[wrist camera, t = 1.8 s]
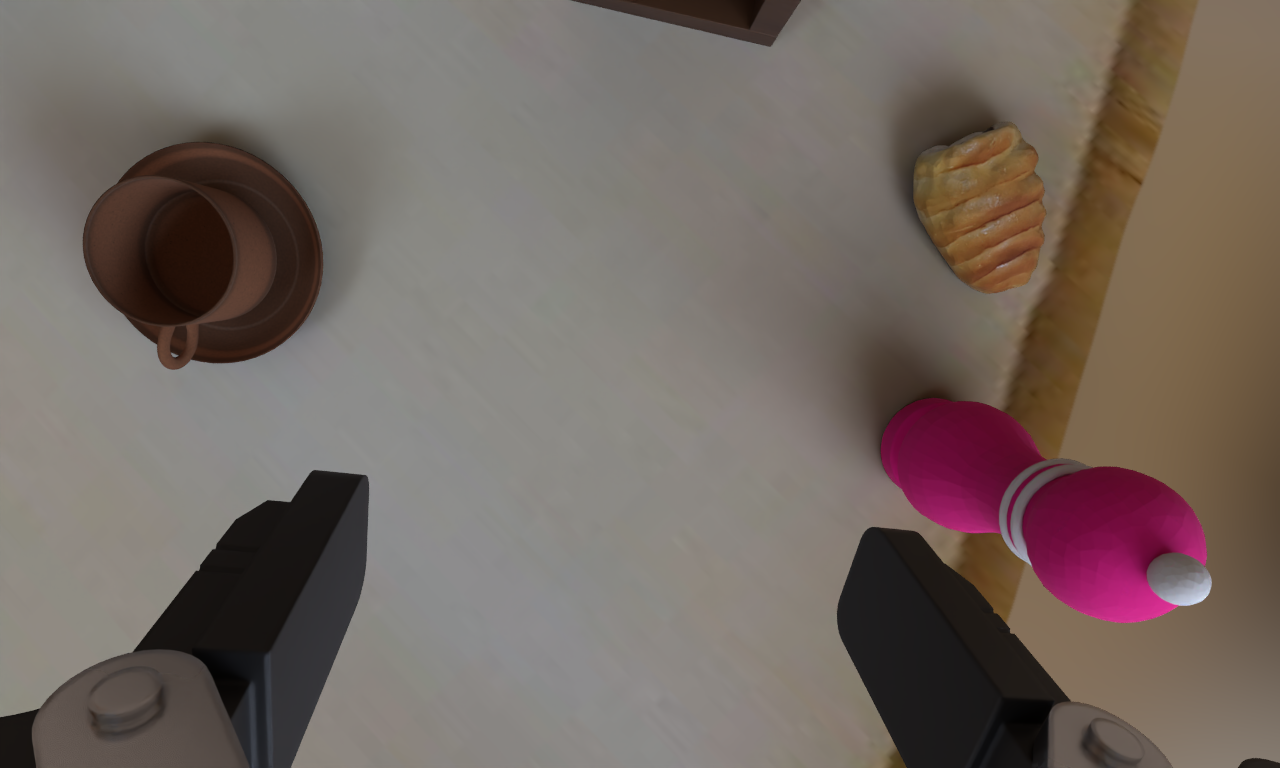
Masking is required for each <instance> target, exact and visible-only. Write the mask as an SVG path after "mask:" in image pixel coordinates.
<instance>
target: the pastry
mask: <svg viewBox="0 0 1280 768" xmlns="http://www.w3.org/2000/svg"><path fill="white" fill-rule="evenodd" d="M1037 162H1038V154H1037V152H1036V150H1035V149H1034V147H1032V146H1031V145H1029V144H1028V143H1026V142H1025V141H1024V140H1023V139H1022V137H1021V133H1020V131H1019V130H1018V128H1017V126H1016V125H1015V124H1014V123H1012V122H1002V123H999V124H995V125H993V126H992V127H990V128H989V129H987V130H986V131H984V132H976V133H973V134H970V135H968V136H966V137H964V138H963V139H960V140H958V141H956V142H955V143H953V144H952V145H950V146H945V145H938V146H934V147H932V148H930V149H928V150H925V151H924V152H923V153H922V154H921V155H920V156H919V157H918V158H917V160H916V164H915V169H914V188H913V200H914V204H915V207H916V210H917V213H918V217H919V219H920V221H921V222H922V224H923V225H924V227H925V229H926V231H927V233H928V234H929V236H930V237H931V239H932V241H933V243H934V245H935V246H936V247H937V249H938V250H939V252H940V253H941V255H942V256H943V257H944V259H945V260H946V262H947V263H948V265H949V266H950V267H951V269H952V270H953V272H954V273H955V274H956V276H957V277H958V278H959V279H960V280H961V281H963V282H964V283H966V284H967V285H969V286H970V287H971V288H973V289H975V290H977V291H979V292H982V293H986V294H991V293H997V292H1003V291H1005V290H1008V289H1011V288H1017V287H1020V286H1023V285H1025V284H1026V283H1028V281H1029V279H1030V277H1031V274H1032V272H1033V271H1034V270H1035V269H1036V267H1037V262H1038V256H1039V251H1040V247H1041V246H1042V244H1043V242H1044V233H1043V231H1042V227H1041V226H1042V222H1043V220H1044V218H1045V216H1046V210H1045V208H1044V206H1043V204H1042V198H1043V196H1044V192H1045V190H1044V187H1043V181H1042V180H1041V178H1040V177H1039V176H1038V175H1036V173H1035V172H1034V169H1035V167H1036V164H1037Z"/></svg>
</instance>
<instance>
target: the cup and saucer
mask: <svg viewBox="0 0 1280 768" xmlns="http://www.w3.org/2000/svg"><path fill="white" fill-rule="evenodd" d="M83 253H84V259H85V263H86V266H87V269H88V272H89V274H90V277H91V279H92V281H93V282H94V284H95V286H96V287H97V289H98V290H99V292H100V293H101V294H102V296H103V297H104V298H105V299H106V300H107V301H108V302H109V303H110V304H111V305H112V306H113V307H115V308H116V309H117V310H119V311H120V312H121V313H123V314H124V315H125V316H126V318H127V319H128V320H129V321H130V322H131V323H132V324H133V326H134V327H135V328H136V329H138V330H139V331H140V332H141V333H142V334H143V335H144V336H146V337H147V338H148V339H150V340H151V341H152V342H154V343H155V344H157V352H158V357H159V360H160V362H161V363H162V364H163V366H165V367H166V368H168V369H172V370H175V369H180V368H182V367H183V366H185V365H186V364H187V363H188V362H189V361H190V360H196V361H200V362H207V363H234V362H240V361H245V360H249V359H252V358H255V357H258V356H260V355H263V354H265V353H267V352H269V351H271V350H273V349H275V348H276V347H278V346H279V345H281V344H282V343H284V342H285V341H286V340H287V339H288V338H290V337H291V336H292V335H293V334H294V333H295V332H296V331H297V330H298V329H299V328H300V327H301V325H302V324H303V323H304V321H305V320H306V319H307V317H308V315H309V314H310V312H311V310H312V308H313V306H314V304H315V302H316V299H317V296H318V294H319V290H320V286H321V281H322V274H323V252H322V245H321V240H320V236H319V232H318V229H317V226H316V223H315V220H314V218H313V216H312V214H311V212H310V210H309V208H308V206H307V205H306V203H305V201H304V200H303V198H302V197H301V196H300V194H299V193H298V192H297V190H296V189H295V188H294V187H293V186H292V184H291V183H290V182H289V181H288V180H287V179H286V178H285V177H284V176H283V175H281V174H280V173H279V172H278V171H277V170H275V169H274V168H273V167H272V166H270V165H269V164H267V163H266V162H264V161H263V160H261V159H259V158H257V157H256V156H254V155H252V154H250V153H247V152H245V151H243V150H240V149H237V148H234V147H231V146H227V145H223V144H217V143H209V142H191V143H182V144H177V145H173V146H169V147H166V148H163V149H161V150H158V151H156V152H154V153H152V154H150V155H148V156H146V157H144V158H143V159H142V160H140V161H139V162H137V163H136V164H135V165H134V166H132V167H131V168H130V169H129V170H128V171H127V172H126V173H125V174H124V175H123V176H122V178H121V179H120V180H119V182H118V183H117V184H116V185H114V186H112V187H111V188H110V189H108V190H107V191H106V192H105V193H104V194H103V195H102V196H101V197H100V198H99V199H98V200H97V201H96V203H95V204H94V206H93V207H92V209H91V211H90V213H89V215H88V218H87V220H86V224H85V228H84V233H83ZM171 353H174V354H176V355H179V356H178V357H175V358H174V357H173V356H172V355H171Z"/></svg>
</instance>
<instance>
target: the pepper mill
mask: <svg viewBox="0 0 1280 768" xmlns="http://www.w3.org/2000/svg"><path fill="white" fill-rule="evenodd" d="M881 459H882V463H883V466H884V469H885V471H886V473H887V474H888V476H889V477H890V479H891V480H892V481H893V482H894V483H895V484H896V485H897V486H898V487H900V488H901V489H902V490H903V492H904V494H905V495H906V497H907V499H908V500H909V502H910V503H911V504H912V505H913V507H914V508H915V509H916V510H917V511H919V512H920V513H921V514H922V515H924V516H925V517H927V518H929V519H930V520H932V521H934V522H936V523H937V524H939V525H942V526H944V527H946V528H949V529H953V530H958V531H962V532H968V533H987V532H996V533H1001V534H1002V536H1003V539H1004V541H1005V542H1006V544H1007V545H1008V547H1009V548H1010V550H1011V551H1012V552H1013V553H1014V554H1015V555H1017V556H1018V557H1019V558H1021V559H1022V560H1024V561H1026V562H1027V563H1028V564H1030V565H1031V566H1032V567H1033V570H1034V572H1035V573H1036V575H1037V576H1038V578H1039V579H1040V581H1041V582H1042V584H1043V586H1044V587H1045V588H1046V589H1048V590H1049V591H1050V592H1051V593H1052V594H1053V595H1054V596H1055V597H1056V598H1057V599H1059V600H1060V601H1062V602H1064V603H1065V604H1067V605H1068V606H1070V607H1071V608H1073V609H1075V610H1077V611H1079V612H1081V613H1083V614H1086V615H1089V616H1092V617H1095V618H1098V619H1101V620H1106V621H1112V622H1120V623H1128V622H1139V621H1144V620H1148V619H1153V618H1156V617H1158V616H1160V615H1163V614H1165V613H1167V612H1169V611H1171V610H1172V609H1174V608H1176V607H1177V606H1179V605H1187V606H1189V605H1192V604H1195V603H1199V602H1201V601H1202V600H1203V599H1205V597H1207V595H1209V592H1210V588H1211V577H1210V574H1209V572H1208V571H1207V569H1206V568H1205V563H1206V557H1207V551H1206V542H1205V535H1204V532H1203V529H1202V526H1201V524H1200V522H1199V520H1198V518H1197V516H1196V515H1195V513H1194V511H1193V509H1192V508H1191V507H1190V506H1189V505H1188V503H1187V502H1186V501H1185V500H1184V499H1183V498H1182V497H1181V496H1180V495H1179V494H1178V493H1176V492H1175V491H1174V490H1172V489H1171V488H1169V487H1168V486H1167V485H1165V484H1164V483H1162V482H1160V481H1158V480H1156V479H1154V478H1152V477H1150V476H1147V475H1144V474H1142V473H1139V472H1136V471H1133V470H1129V469H1124V468H1120V467H1095V468H1093V467H1090V466H1086V465H1085V464H1082V463H1080V462H1078V461H1074V460H1070V459H1050V460H1046V459H1045V458H1043V457H1042V456H1041V455H1040V453H1039V451H1038V449H1037V447H1036V445H1035V443H1034V441H1033V439H1032V438H1031V436H1030V435H1029V434H1028V433H1027V431H1026V430H1025V429H1024V428H1023V427H1022V426H1021V425H1020V424H1019V423H1018V422H1017V421H1016V420H1015V419H1014V418H1012V417H1011V416H1009V415H1008V414H1006V413H1004V412H1002V411H1000V410H998V409H996V408H994V407H991V406H989V405H987V404H983V403H979V402H971V401H958V402H952V401H949V400H946V399H940V398H928V399H922V400H918V401H915V402H913V403H911V404H909V405H907V406H906V407H904V408H903V409H901V410H900V411H899V412H898V413H897V414H896V415H895V416H894V417H893V418H892V419H891V421H890V422H889V424H888V426H887V428H886V429H885V432H884V434H883V437H882V443H881Z"/></svg>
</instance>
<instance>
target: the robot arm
mask: <svg viewBox="0 0 1280 768" xmlns="http://www.w3.org/2000/svg"><path fill="white" fill-rule="evenodd" d="M368 503H369V481H368V477H367V476H366V475H359V474H349V473H339V472H329V471H319V470H314V471H312V472H311V473H310V474H309V476H308V477H307V478H306V480H305V481H304V483H303V484H302V486H301V487H300V489H299V490H298V492H297V493H296V495H295V496H294V498H293V499H292V501H291V502H282V501H271V500H267V501H266V502H264V503H262V504H261V505H259V506H257V507H256V508H254V509H252V510H251V511H249V512H248V513H246V514H244V515H243V516H241V517H239V518H238V519H236V520H235V521H234V523H233V524H232V525H231V526H230V528H229V529H228V530H227V532H226V533H225V534H224V535H223V537H222V538H221V539H220V541H219V542H218V543H217V546H216V549H213V550H212V551H211V552H210V553H209V555H208V556H207V557H206V559H205V560H204V561H203V562H202V564H201V565H200V570H199V571H195V573H194V574H193V575H192V577H191V578H190V579H189V580H188V582H187V583H186V584H185V586H184V587H183V588H182V589H181V591H180V592H179V593H178V595H177V596H176V597H175V598H174V600H173V601H172V602H171V604H170V605H169V606H168V607H167V609H166V610H165V611H164V613H163V614H162V615H161V616H160V618H159V619H158V620H157V622H156V623H155V624H154V625H153V627H152V628H151V629H150V631H149V632H148V633H147V634H146V636H145V637H144V638H143V640H142V641H141V642H140V643H139V645H138V646H137V647H136V649H135V650H134V651H133V652H132V653H127V654H124V655H120V656H117V657H113V658H111V659H108V660H105V661H103V662H100V663H98V664H96V665H94V666H92V667H90V668H88V669H85V670H84V671H82V672H80V673H79V674H77V675H75V676H74V677H72V678H71V679H69V680H68V681H67V682H65V683H64V684H63V685H61V686H60V687H59V688H58V689H57V690H56V691H55V692H54V693H53V694H52V695H51V696H50V697H49V698H48V699H47V700H46V701H45V703H44V704H43V705H42V706H41V708H40V709H37V710H33V711H29V712H25V713H20V714H16V715H10V716H5V717H0V768H291V765H292V763H293V760H294V758H295V756H296V753H297V751H298V748H299V746H300V743H301V741H302V738H303V736H304V734H305V731H306V729H307V726H308V724H309V721H310V719H311V716H312V714H313V711H314V709H315V707H316V704H317V702H318V699H319V697H320V694H321V692H322V689H323V687H324V685H325V682H326V680H327V677H328V675H329V672H330V670H331V667H332V665H333V663H334V660H335V658H336V655H337V653H338V650H339V648H340V645H341V643H342V640H343V638H344V636H345V633H346V631H347V628H348V626H349V623H350V621H351V618H352V616H353V614H354V611H355V609H356V606H357V604H358V601H359V598H360V594H361V590H362V586H363V581H364V576H365V569H366V556H367V530H368ZM837 623H838V629H839V634H840V637H841V639H842V642H843V643H844V645H845V647H846V649H847V651H848V653H849V655H850V657H851V659H852V661H853V663H854V665H855V667H856V669H857V671H858V673H859V675H860V677H861V679H862V681H863V683H864V685H865V687H866V688H867V690H868V692H869V694H870V696H871V698H872V700H873V702H874V704H875V706H876V708H877V710H878V712H879V714H880V716H881V718H882V720H883V722H884V724H885V726H886V728H887V730H888V732H889V733H890V735H891V737H892V739H893V741H894V743H895V745H896V747H897V749H898V751H899V753H900V755H901V757H902V759H903V761H904V763H905V765H906V767H907V768H1173V767H1172V765H1171V764H1170V762H1169V761H1168V759H1167V758H1166V757H1165V755H1164V754H1163V753H1162V752H1161V751H1160V750H1159V749H1158V747H1157V746H1156V745H1155V744H1154V743H1152V742H1151V741H1150V740H1149V739H1148V738H1147V737H1146V736H1145V735H1143V734H1142V733H1141V732H1140V731H1138V730H1137V729H1136V728H1134V727H1133V726H1131V725H1130V724H1128V723H1127V722H1125V721H1124V720H1122V719H1120V718H1119V717H1117V716H1115V715H1113V714H1111V713H1109V712H1107V711H1105V710H1102V709H1100V708H1097V707H1095V706H1092V705H1089V704H1084V703H1080V702H1071V701H1070V700H1069V698H1068V697H1067V696H1066V695H1065V694H1064V692H1063V691H1062V690H1061V689H1060V688H1059V686H1058V685H1057V684H1056V683H1055V682H1054V681H1053V679H1052V678H1051V677H1050V676H1049V674H1048V673H1047V672H1046V671H1045V670H1044V669H1043V668H1042V666H1041V665H1040V664H1039V663H1038V661H1037V660H1036V659H1035V658H1034V657H1033V656H1032V654H1031V653H1030V652H1029V651H1028V650H1027V648H1026V647H1025V646H1024V645H1023V643H1022V642H1021V641H1020V640H1019V639H1018V638H1017V636H1016V635H1015V634H1011V633H1010V628H1009V627H1008V626H1007V624H1006V623H1005V622H1004V621H1003V620H1002V618H1001V617H1000V616H999V615H998V614H995V613H993V608H992V607H991V605H990V604H989V603H988V602H987V601H986V599H985V598H984V597H983V596H982V595H981V593H980V592H979V591H978V590H977V589H976V587H975V586H974V585H973V584H971V583H970V582H969V581H967V580H966V579H965V578H963V577H962V576H961V575H959V574H958V573H957V572H955V571H954V570H953V569H952V568H950V567H949V566H948V565H946V564H944V563H943V562H942V560H941V559H940V558H939V557H938V556H937V554H936V553H935V552H934V551H933V549H932V548H931V547H930V546H929V544H928V543H927V542H926V541H925V540H924V538H923V537H922V536H921V535H920V534H919V533H917V532H915V531H909V530H899V529H889V528H879V527H871V528H869V529H867V530H866V531H865V532H864V534H863V536H862V538H861V540H860V543H859V546H858V548H857V551H856V554H855V557H854V560H853V562H852V565H851V568H850V571H849V574H848V577H847V579H846V582H845V585H844V588H843V591H842V593H841V596H840V599H839V603H838V609H837ZM1238 768H1280V763H1277V762H1274V761H1270V760H1266V759H1260V758H1259V759H1258V758H1252V759H1247V760H1245V761H1243V762H1242V763H1241V764H1240V766H1239V767H1238Z"/></svg>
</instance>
